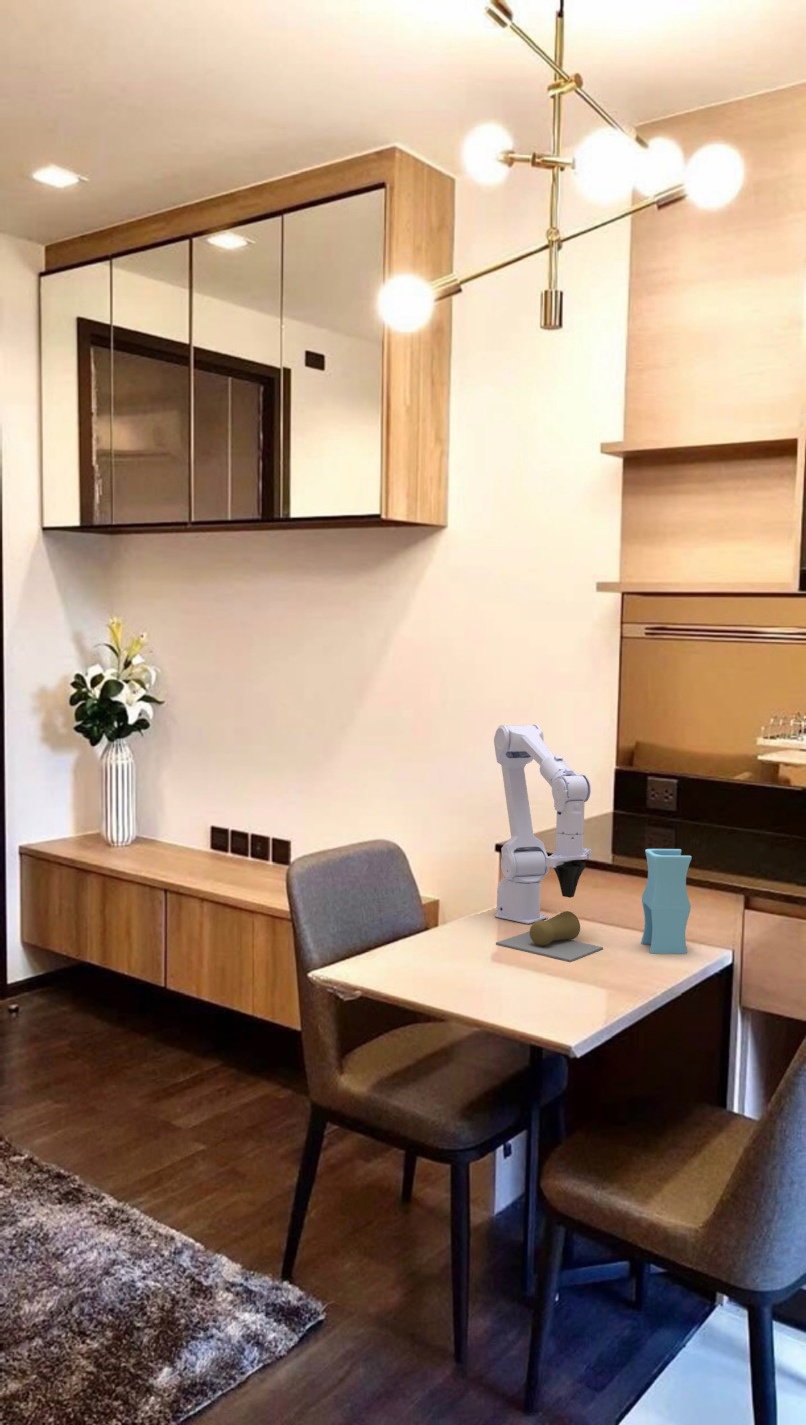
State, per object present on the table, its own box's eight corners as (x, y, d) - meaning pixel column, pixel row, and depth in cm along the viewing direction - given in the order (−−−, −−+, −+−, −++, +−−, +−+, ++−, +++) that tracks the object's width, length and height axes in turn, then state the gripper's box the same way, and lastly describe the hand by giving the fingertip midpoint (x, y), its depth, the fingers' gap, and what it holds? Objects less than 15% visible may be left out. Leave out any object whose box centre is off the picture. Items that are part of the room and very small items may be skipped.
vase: (688, 954, 221) (692, 856, 220) (650, 953, 221) (653, 856, 219) (677, 943, 229) (680, 849, 227) (640, 943, 228) (643, 848, 227)
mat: (495, 944, 225) (495, 942, 225) (529, 933, 235) (529, 931, 235) (570, 962, 214) (570, 960, 214) (602, 949, 223) (603, 947, 223)
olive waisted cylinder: (552, 927, 233) (520, 937, 225) (564, 905, 231) (532, 913, 223) (573, 945, 229) (541, 955, 222) (584, 922, 227) (552, 932, 219)
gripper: (567, 839, 220) (565, 905, 221) (604, 830, 231) (602, 894, 232) (538, 834, 225) (536, 899, 225) (575, 826, 236) (574, 888, 236)
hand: (568, 896), depth 229 cm, fingers closed
